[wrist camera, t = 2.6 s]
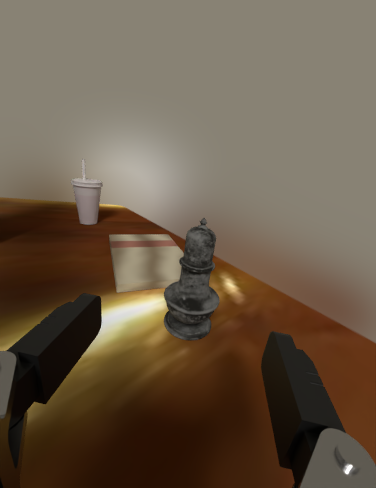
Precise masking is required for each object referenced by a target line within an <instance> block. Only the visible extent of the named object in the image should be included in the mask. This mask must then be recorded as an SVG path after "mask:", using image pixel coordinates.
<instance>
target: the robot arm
mask: <svg viewBox="0 0 376 488" xmlns="http://www.w3.org/2000/svg"><path fill="white" fill-rule="evenodd" d="M101 322H102V319H101V298H100V296H96V295H91V294H86V293H83V294H82V295H80V296H79V297H78V298H77V299H76V300H75V301H74V302H68V303H66V304H64V305H62V306H60V307H58V308H56V309H55V310H54V311H53V312H52V313H51V314H49V315H48V317H46V318H45V319H43V320H42V321H41V323H40V324H38V325H36V326H35V327H34V328H33V329H32V330H30V331H29V332H28V333H27V334H26V335H25V336H23V337H22V338H21V339H20V340H19V341H18V342H16V343H15V344H14V345H13V346H12V347H10V348H9V349H8V350H7V351H0V488H20V474H21V465H22V456H23V448H24V440H25V431H26V423H27V410H28V409H29V407H30V406H31V405H32V404H33V402H38V403H42V404H46V403H47V402H48V400H49V399H50V398H51V396H52V395H53V394H54V392H55V391H56V390H57V388H58V387H59V386H60V384H61V383H62V382H63V380H64V379H65V378H66V376H67V375H68V374H69V372H70V371H71V370H72V368H73V367H74V366H75V364H76V363H77V362H78V360H79V359H80V358H81V356H82V355H83V354H84V352H85V351H86V350H87V348H88V347H89V346H90V344H91V343H92V342H93V340H94V339H95V338H96V336H97V335H98V333H99V331H100V328H101ZM261 370H262V376H263V381H264V386H265V392H266V397H267V402H268V407H269V412H270V417H271V423H272V428H273V433H274V438H275V443H276V448H277V453H278V459H279V464H280V467H284V468H288V469H291V470H292V472H293V476H294V481H295V483H294V485H293V486H292V488H376V465H375V464H374V462H373V460H372V458H371V457H370V456H369V454H368V453H367V451H366V450H365V449H364V448H363V447H362V446H361V445H360V444H359V443H358V442H357V441H356V440H355V439H353V438H352V437H351V436H349V435H348V434H346V432H345V430H344V428H343V426H342V423H341V421H340V419H339V417H338V415H337V413H336V411H335V409H334V406H333V404H332V402H331V400H330V398H329V396H328V394H327V391H326V389H325V387H323V383H322V381H321V379H320V376H318V372H317V370H316V368H315V366H314V364H313V362H312V360H311V359H310V358H309V357H308V356H307V355H306V353H305V352H304V351H303V350H299V349H296V347H295V344H294V342H293V339H292V337H291V336H290V335H288V334H283V333H278V332H273V331H272V332H271V333H270V335H269V338H268V341H267V344H266V347H265V350H264V354H263V357H262V363H261Z"/></svg>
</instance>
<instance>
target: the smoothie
mask: <svg viewBox="0 0 376 488" xmlns="http://www.w3.org/2000/svg"><path fill="white" fill-rule="evenodd" d="M82 170H83V178H76V179H71V184H72V185H73V188H74V193H75V199H76V204H77V209H78V214H79V219H80V223H81V224H86V225H92V224H96V223H97V219H98V210H99V201H100V192H101V187H102V181H99V180H94V179H86V176H85V160H84V159H82Z"/></svg>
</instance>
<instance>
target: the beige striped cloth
mask: <svg viewBox="0 0 376 488" xmlns="http://www.w3.org/2000/svg"><path fill="white" fill-rule="evenodd" d="M109 242H110V249H111V256H112V263H113V270H114V276H115V283H116V290H117V293H118V292H127V291H137V290H147V289H156V288H166V287H168V286H169V285H170V284H172V283H174V282H177V281H179V279H180V275H181V267H182V266H181V265H180V263H179V260H180V258H181V257H183V256H184V253H183V252H182V251H181V250H180V248H179V247H178V246H177V245H176V243H175V242H174V241H173V240H172V239H171V237H170V236H169V235H168V234H166V235H109Z"/></svg>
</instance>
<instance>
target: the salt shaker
mask: <svg viewBox="0 0 376 488" xmlns="http://www.w3.org/2000/svg"><path fill="white" fill-rule="evenodd" d="M200 223H201V225H200V226H198V227H193V228H191V229H190V230H189V231H188V233H187V236H186V243H185V251H184V256H183V257H181V258H180V260H179V263H180V265H181V266H182V267H181V275H180V279H179V281H177V282H174V283H172V284H170V285H169V286H168V287H167V288H166V289H165V292H164V297H165V300H166V302H167V307H168V309H169V311H168V312H167V313H166V315H165V318H164V325H165V327H166V329H167V330H168V331H169V332H170V333H171V334H172V335H174V336H175V337H177V338H180V339H184V340H198V339H201V338H203V337H205V336H206V335H207V334H208V333H209V332H210V329H211V321H210V319H209V317H210V316H211V314H212V313H213V312H214V310H215V309H216V308H217V307H218V304H219V296H218V295H217V293H216V292H215V291H214V290H213V289H212V288H211V287H209V278H210V273H211V271H212V270H214V268H215V264H214V263H213V262H212V258H213V253H214V247H215V242H216V236H215V234H214V232H213V231H211V230H210V229H208V228H207V227H206V226H205V225H206V224H207V222H206V220H205V218H203V219H202V220H201V221H200Z"/></svg>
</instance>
